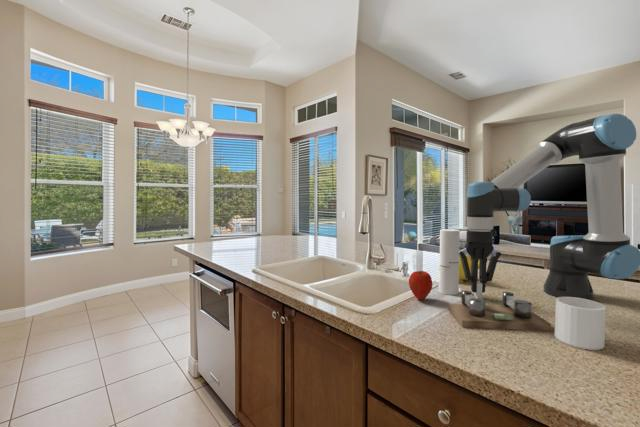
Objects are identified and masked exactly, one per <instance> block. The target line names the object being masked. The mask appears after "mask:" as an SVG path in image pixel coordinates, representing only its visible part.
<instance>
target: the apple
mask: <svg viewBox="0 0 640 427" xmlns="http://www.w3.org/2000/svg"><path fill="white" fill-rule="evenodd" d="M408 286H409V288H410V291H411V292H412V295H414V297H415V298H416V299H417V300H418V301H423V300H425V299H426V298H427V297H428V296H429V294H430V293H431V291H432V289H433V280H432V277H431V275H430V274H429V273H428V272H427V271H425V270H417V271H413V272H412V273H411V274H410V275H409V279H408Z"/></svg>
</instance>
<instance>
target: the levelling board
mask: <svg viewBox="0 0 640 427" xmlns="http://www.w3.org/2000/svg"><path fill="white" fill-rule="evenodd" d="M447 310H448V311H449V313H450V315H452V317H453V318H454V319H455V320H456V322H457V323H458V324H459V325H460V327H461V328H473V329H474V328H476V329H477V328H478V329H479V328H481V329H497V330H498V329H499V330H501V329H502V330H522V331H547V332H548V331H549V332H551V330H552V324H551V323H550V322H549V321H547V320H545V319H544V318H543V317H541V316H540V315H538V314H536V313H535V312H533V311H532V314H531V318H521V317H517V316H515V315H514V309H513V308H511V307H508V306H504V305H491V304H485V316H482V317H480V316H474V315H471V314H470V313H469V306H468V305H464V304H462V303H457V304H456V303H448V304H447Z"/></svg>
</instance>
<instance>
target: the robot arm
mask: <svg viewBox="0 0 640 427" xmlns="http://www.w3.org/2000/svg"><path fill="white" fill-rule="evenodd" d="M636 139H637V129H636V126H635V124H634V122H633V121H632V119H630V118H629V117H628V116H627V115H624V114H621V113H609V114H603V115H599V116H597V117H593V118H589V119H585V120H581V121H579V122H573V123H571V124H568V125H565V126H563V127H562V128H560V129H558V130H557V131H555V132H554V133H552V134H550V135H549V136H547V137H546V138H545V139H543V140H542V141H541V142H539V143H538V144H537V145H536V147H535V149H534V150H532V151H531V152H529V153H527V155H526V156H524V157H523V158H522V159H520V160H519V161H517V162H516V163H515V164H513V165H512V166H510V167H509V168H508V169H506V170H505V171H503V172H502V173H501V174H499V175H497V177H494V178H493V179H492V180H491V181H474V182H470V183H468V184H467V193H466V194H467V195H466V197H465V198H466V199H465V201H466V228H467V231H466V238H465V240H466V243H465V246H464V248H463V249H459V251H458V252H457V253H458V254H459V256H460V257H461V261H462V266H463V270H464V274H465V278H466V279H467V280H466V281H469V282H470V283H471V284H470V286H471V288H470V290H471V292H472V293H473V296H474V297H475V298H477V299H481V300H483V293H485V292H486V285H487V283H489V282H492V281H493V278H494V274H495V270H496V267H497V263H498V260H499V258H501V256H502V252H500V251H498V250H496V249H495V247H494V245H493V241H494V239H493V238H494V237H493V236H494V232H493V231H492V230H494V212H515V213H517V212H524V211H526V210H527V209H528V208H529V207H530V204H531V200H532V197H531V194H530V192H529V191H528V190H527V189H525V188H520V187H521V186H522V185H524V184H526V183H527V182H528V181H529V180H530V179H532V178H533V177H534V176H537V174H539V173H540V172H542V171H543V170H544V169H546V168H548V167H549V166H550V165H555V164H557V163H560V162H561V161H562V160H565V159H567V158H570V157H571V158H572V157H575V156H578V161H580V162H582V164H584V165H585V167H584V168H585V170H584V171H585V185H586V205H587V208H586V209H587V223H588V226H587V227H588V232H587V233H586V234H585V235H582V234H581V235H555V236H552V237H551V239H550V245H549V272H548V275H547V277H546V279H545V282H544V284H543V292H544V293H546V294H547V295H551V296H553V297H556V298H557V297H576V298H582V299H587V300H591V301H592V300H593V299H594V294H595V292H594V289H593V287H592V284H591V282H590V278H589V274H592V275H597V276H601V277H604V278H607V279H614V280H624V279H625V280H626V279H628V278H630V277H632V276H633V275H634V274H635V273H636V272H637V271H638V270H639V268H640V250H639V249H638V247H636V246H634V245H632V244H631V238H630V237H629V235H626V234H625V233H624V226H623V225H624V222H623V202H622V200H623V199H622V182H621V181H622V177H621V160H622V159H623V158H625V156H626V155H627V149H629V148H630V147H631V146H633V145H634V143H635V141H636ZM460 250H461V251H460ZM467 253H468V255H469V257H470V258H471V273H470V269H469V265H468V261H467V257H466V255H467ZM489 256H490V258H489ZM488 258H489V262H488ZM479 261H480V262H479ZM478 262H479V269H478ZM487 263H488V266H487ZM478 280H479V281H478Z"/></svg>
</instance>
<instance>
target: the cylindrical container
mask: <svg viewBox="0 0 640 427" xmlns="http://www.w3.org/2000/svg"><path fill="white" fill-rule="evenodd" d="M460 234H461V233H460V229H453V228H451V229H450V228H449V229H447V228H446V229H444V228H442V229H439V265H440V268H439V267H438V271H439V274H438V275H439V278H438V281H439V282H438V283H439V284H438V286H439V287H438V291H439V293H441V294H444V295H447V296H448V295H449V296H456V295H458V294H459V290H460V288H459V286H460V283H459V254H458V253H457V252H458V251H459V250H460Z"/></svg>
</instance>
